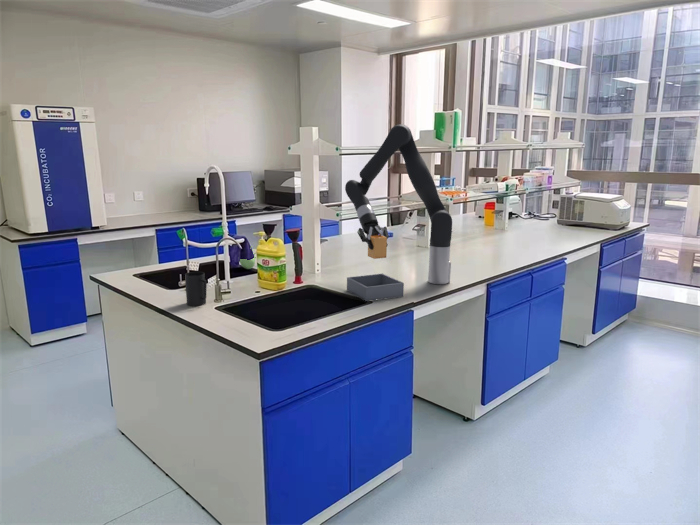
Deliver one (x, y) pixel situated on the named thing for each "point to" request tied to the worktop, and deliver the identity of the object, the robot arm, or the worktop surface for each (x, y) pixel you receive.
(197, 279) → the black tapered tumbler
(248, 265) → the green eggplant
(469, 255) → the worktop surface
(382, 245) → the tan cardboard box
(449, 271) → the robot arm
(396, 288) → the big crate
